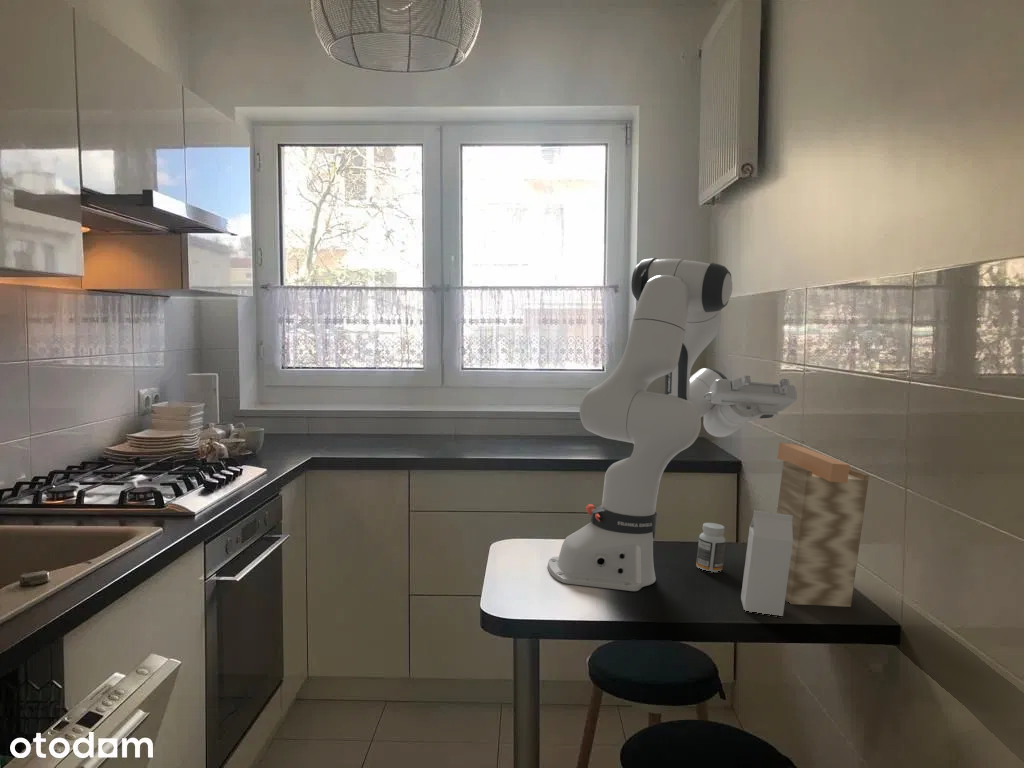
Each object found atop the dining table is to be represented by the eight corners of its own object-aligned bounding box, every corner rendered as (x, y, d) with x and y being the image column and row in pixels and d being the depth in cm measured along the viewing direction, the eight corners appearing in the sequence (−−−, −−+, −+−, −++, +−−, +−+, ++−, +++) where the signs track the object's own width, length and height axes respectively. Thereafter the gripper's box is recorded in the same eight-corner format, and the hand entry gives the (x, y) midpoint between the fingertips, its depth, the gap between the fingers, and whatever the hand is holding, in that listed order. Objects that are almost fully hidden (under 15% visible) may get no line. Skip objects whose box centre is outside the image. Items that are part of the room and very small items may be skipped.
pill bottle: (717, 565, 173) (722, 522, 172) (725, 574, 168) (730, 530, 167) (692, 563, 173) (697, 520, 172) (699, 572, 168) (704, 528, 167)
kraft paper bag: (790, 604, 153) (807, 471, 150) (767, 585, 163) (783, 460, 160) (850, 606, 155) (869, 475, 152) (824, 588, 165) (841, 464, 162)
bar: (830, 481, 147) (832, 463, 147) (777, 458, 169) (779, 442, 168) (847, 482, 147) (849, 464, 147) (792, 459, 169) (794, 443, 169)
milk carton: (782, 618, 145) (795, 520, 143) (743, 612, 146) (756, 514, 144) (777, 605, 152) (789, 511, 150) (740, 599, 153) (752, 506, 151)
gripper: (700, 387, 189) (722, 363, 176) (778, 394, 191) (806, 371, 179) (702, 411, 186) (725, 389, 173) (781, 417, 189) (810, 396, 176)
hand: (767, 380), depth 176 cm, fingers open, 8 cm apart
